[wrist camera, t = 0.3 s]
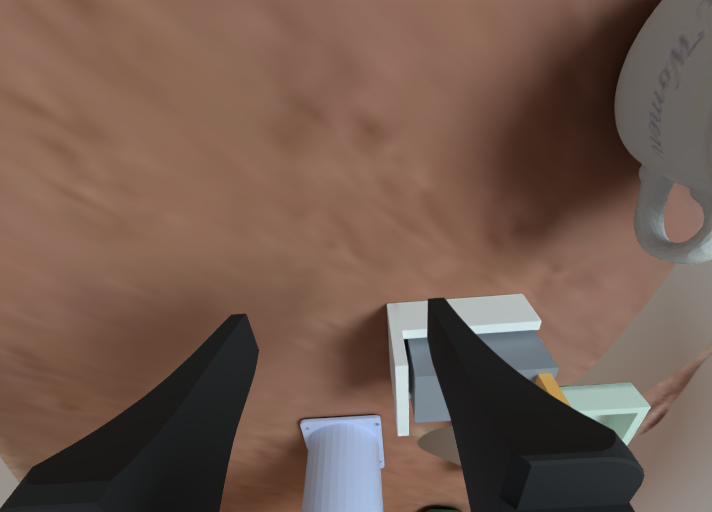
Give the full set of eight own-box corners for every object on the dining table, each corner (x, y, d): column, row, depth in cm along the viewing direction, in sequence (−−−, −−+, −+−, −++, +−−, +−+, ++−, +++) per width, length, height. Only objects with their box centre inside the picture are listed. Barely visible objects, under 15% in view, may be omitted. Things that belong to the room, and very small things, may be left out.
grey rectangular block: (508, 350, 29) (565, 459, 21) (404, 357, 29) (422, 467, 21) (518, 305, 26) (587, 411, 18) (403, 313, 26) (424, 421, 19)
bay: (507, 361, 29) (540, 427, 24) (390, 369, 30) (397, 436, 24) (522, 293, 25) (565, 355, 20) (386, 303, 26) (395, 366, 20)
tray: (591, 455, 37) (606, 479, 35) (460, 462, 38) (467, 486, 36) (630, 382, 31) (650, 406, 29) (471, 392, 31) (479, 417, 29)
